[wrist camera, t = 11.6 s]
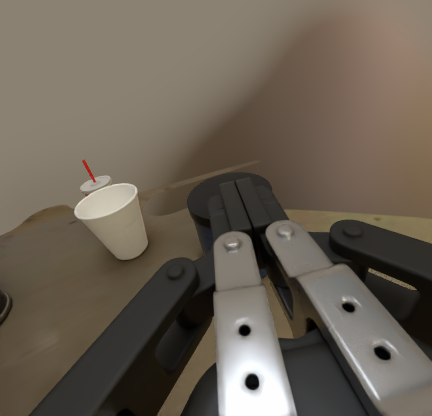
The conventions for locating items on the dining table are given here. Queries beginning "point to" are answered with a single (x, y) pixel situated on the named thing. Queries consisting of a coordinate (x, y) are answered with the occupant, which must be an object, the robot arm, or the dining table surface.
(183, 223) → the dining table surface
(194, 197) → the blue lidded canister
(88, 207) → the cup
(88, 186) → the beverage cup
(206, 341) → the dining table surface
